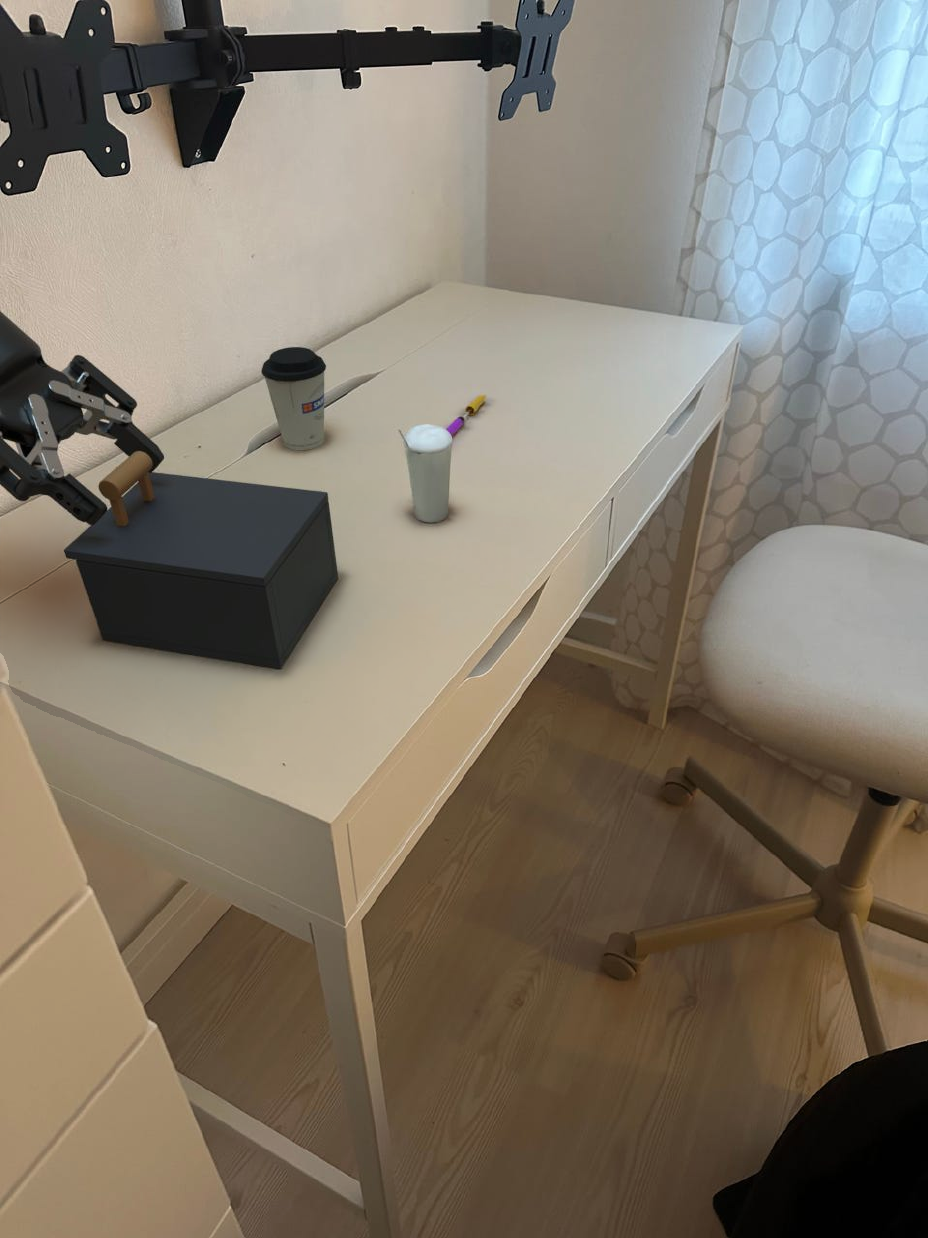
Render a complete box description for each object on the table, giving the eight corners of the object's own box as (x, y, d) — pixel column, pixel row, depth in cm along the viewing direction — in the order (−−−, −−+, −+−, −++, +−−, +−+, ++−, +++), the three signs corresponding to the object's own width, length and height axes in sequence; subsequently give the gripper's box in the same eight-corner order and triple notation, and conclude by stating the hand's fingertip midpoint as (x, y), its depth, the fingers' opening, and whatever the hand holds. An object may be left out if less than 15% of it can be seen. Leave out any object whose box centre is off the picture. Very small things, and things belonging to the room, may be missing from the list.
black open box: (102, 640, 73) (75, 560, 68) (179, 556, 83) (160, 480, 78) (280, 669, 70) (265, 587, 65) (338, 577, 80) (328, 500, 75)
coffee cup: (260, 448, 100) (245, 361, 94) (295, 423, 105) (283, 339, 99) (313, 459, 98) (301, 371, 92) (346, 433, 103) (337, 348, 97)
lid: (65, 558, 69) (46, 502, 66) (151, 479, 78) (137, 426, 75) (265, 586, 65) (254, 528, 62) (328, 500, 75) (322, 446, 72)
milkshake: (392, 515, 88) (385, 421, 82) (436, 498, 91) (432, 405, 85) (418, 534, 85) (413, 438, 79) (463, 516, 88) (461, 422, 82)
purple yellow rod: (436, 456, 97) (488, 400, 109) (433, 446, 97) (486, 391, 108) (415, 458, 98) (469, 402, 110) (412, 448, 98) (467, 393, 110)
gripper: (-98, 340, 59) (102, 510, 64) (34, 275, 70) (196, 424, 75) (-131, 408, 63) (58, 562, 68) (-2, 337, 74) (154, 474, 79)
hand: (130, 490), depth 71 cm, fingers open, 8 cm apart
